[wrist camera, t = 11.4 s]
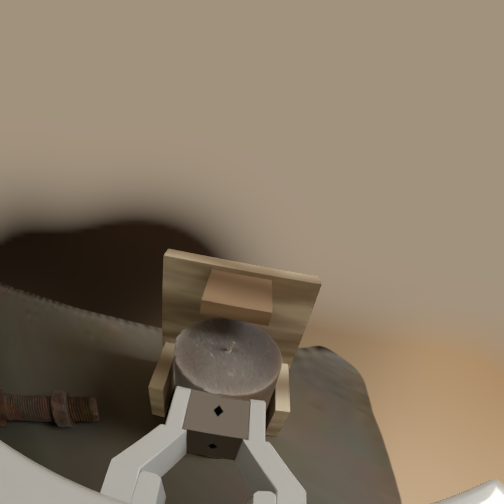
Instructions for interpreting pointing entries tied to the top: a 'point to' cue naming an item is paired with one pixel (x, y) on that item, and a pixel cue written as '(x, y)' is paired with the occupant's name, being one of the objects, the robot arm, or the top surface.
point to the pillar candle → (227, 359)
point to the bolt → (48, 408)
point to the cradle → (232, 315)
